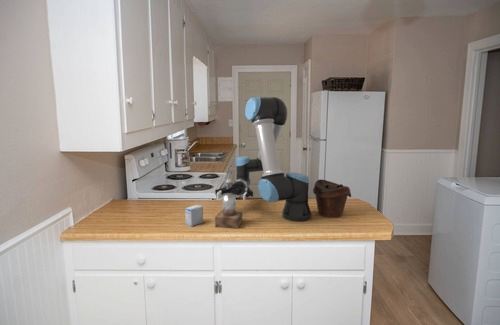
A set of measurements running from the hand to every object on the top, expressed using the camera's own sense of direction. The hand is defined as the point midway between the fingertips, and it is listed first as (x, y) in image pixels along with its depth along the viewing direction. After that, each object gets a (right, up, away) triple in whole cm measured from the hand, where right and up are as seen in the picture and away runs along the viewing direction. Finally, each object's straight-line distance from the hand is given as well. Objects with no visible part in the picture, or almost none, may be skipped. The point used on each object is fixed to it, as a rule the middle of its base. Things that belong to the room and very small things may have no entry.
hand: (230, 197), depth 173 cm
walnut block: (-1, -13, -2) cm, 13 cm away
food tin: (0, -8, -3) cm, 9 cm away
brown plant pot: (+54, -11, +14) cm, 56 cm away
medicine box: (-18, -13, -2) cm, 22 cm away
